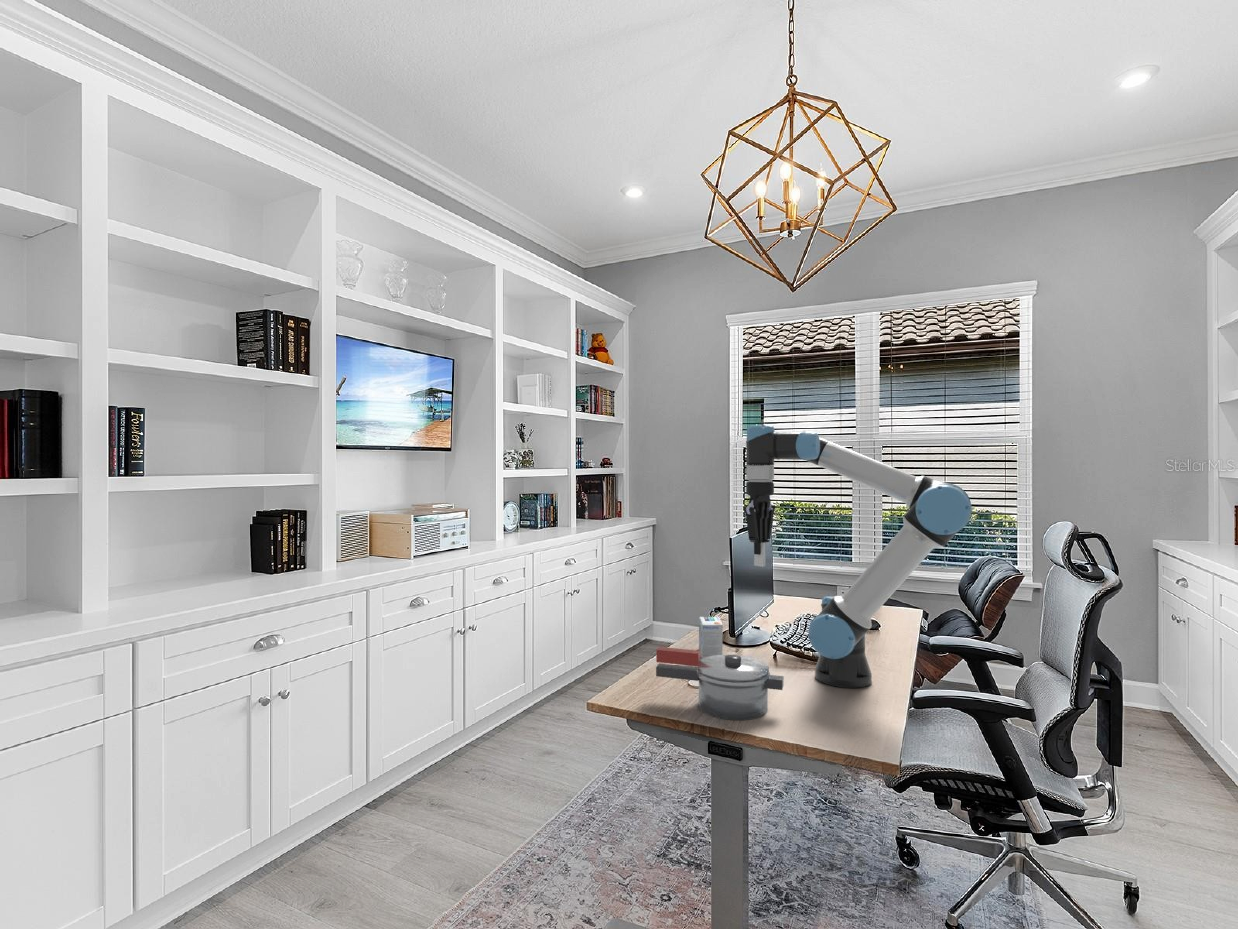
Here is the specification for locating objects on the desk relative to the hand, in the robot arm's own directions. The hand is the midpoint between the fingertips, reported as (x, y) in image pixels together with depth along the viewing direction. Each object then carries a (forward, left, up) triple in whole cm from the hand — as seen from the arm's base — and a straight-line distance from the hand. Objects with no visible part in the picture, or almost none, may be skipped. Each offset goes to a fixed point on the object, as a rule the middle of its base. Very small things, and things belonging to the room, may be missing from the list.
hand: (759, 565), depth 186 cm
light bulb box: (+18, -22, -33) cm, 43 cm away
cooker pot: (+8, +21, -32) cm, 39 cm away
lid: (+9, +21, -23) cm, 33 cm away
